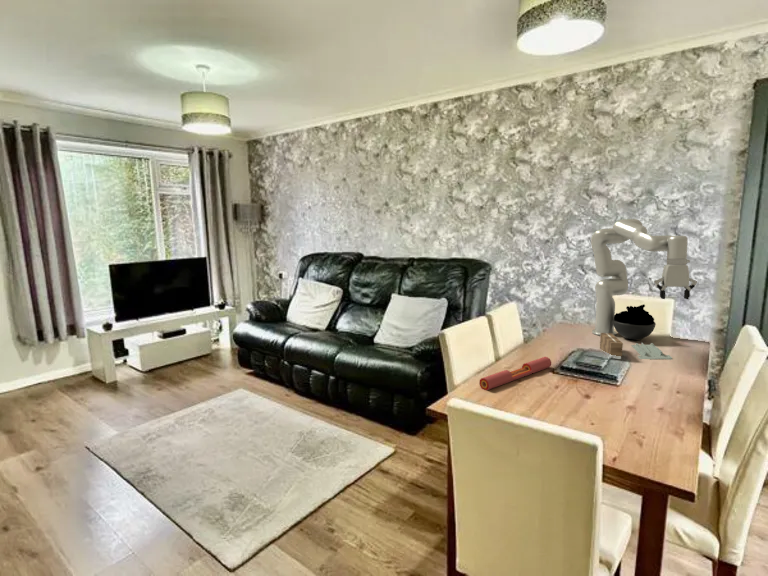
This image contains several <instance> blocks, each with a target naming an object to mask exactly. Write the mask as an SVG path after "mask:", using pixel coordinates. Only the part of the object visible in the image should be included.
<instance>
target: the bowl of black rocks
mask: <svg viewBox="0 0 768 576" xmlns="http://www.w3.org/2000/svg"><path fill="white" fill-rule="evenodd" d="M645 307H646V305H645V303H644V304H641V305H638V306H635V305H634V306H633V305H630V306H629V305H628V306H627V305H626V310H624V311H620V312H619V313H618V312H615V316H614V319H613V325H614V330H615V332H616V333H618V334H619V335H620V336H621V337H623V338H625V339H628V340H631V341H632V340H633V341H638V340H642V339H645V338H647V337H649V335H651V334H652V333H653V331H654V330H655V327H656V325H657V324H656V322H655V317H653V315H652V314H650V312H649V311H647V310H646V309H644V308H645Z"/></svg>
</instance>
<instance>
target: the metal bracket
mask: <svg viewBox="0 0 768 576" xmlns="http://www.w3.org/2000/svg"><path fill="white" fill-rule="evenodd" d="M630 346H631V348H632V349H634V350H635V351H636V352H637V354H639V355H637V358H638V359H639V360H640V359H650V360H673V359H672V358H673V357H672V356H671V355H670V354H664V353H663V351H662V350H661V349H660V348H659V347H657V346H656V345H655V344H654V343H653V342H651V343H650V344H644V343H643V342H641V344H639V343H637V342H636V343H635V344H631V345H630Z"/></svg>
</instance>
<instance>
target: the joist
mask: <svg viewBox="0 0 768 576" xmlns="http://www.w3.org/2000/svg"><path fill="white" fill-rule="evenodd" d="M599 339H600V342H599V349H600V350H601V351H602V350H603V351H605V352H607V353H609V354H611V355H616V356H622V357H623V347H624V346H623V345H624V343H623V342H622V341H621V340H620V339H619V338H617V336H616V335H615V336H614V335H613V334H612V333H601V336H600V338H599ZM603 351H602V352H603Z"/></svg>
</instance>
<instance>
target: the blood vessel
mask: <svg viewBox="0 0 768 576" xmlns="http://www.w3.org/2000/svg"><path fill="white" fill-rule="evenodd" d="M551 366H552V360H551V359H550V358H549V357H548V356H542V357H540V358H537V359H534V360H530V361H528V362H526V363H523V364H522V365H521V367H520V368H518V369H515V370H512V371H510V370H509V369H504V370H502V371H499V372H496V373H493V374H489V375H488V376H484V377H481V378H480V379H479V387H480V389H482V390H485V391H489V390H491V389H494V388H497V387H500V386H503V385H505V384H508V383H511V382H513V381H516V380H519V379H521V378H524V376H525V377H526V376H527V377H528V376H529V375H533V374H535V373H538V372H540V371H543V370H546V369H548V368H551ZM532 373H533V374H532Z"/></svg>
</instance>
